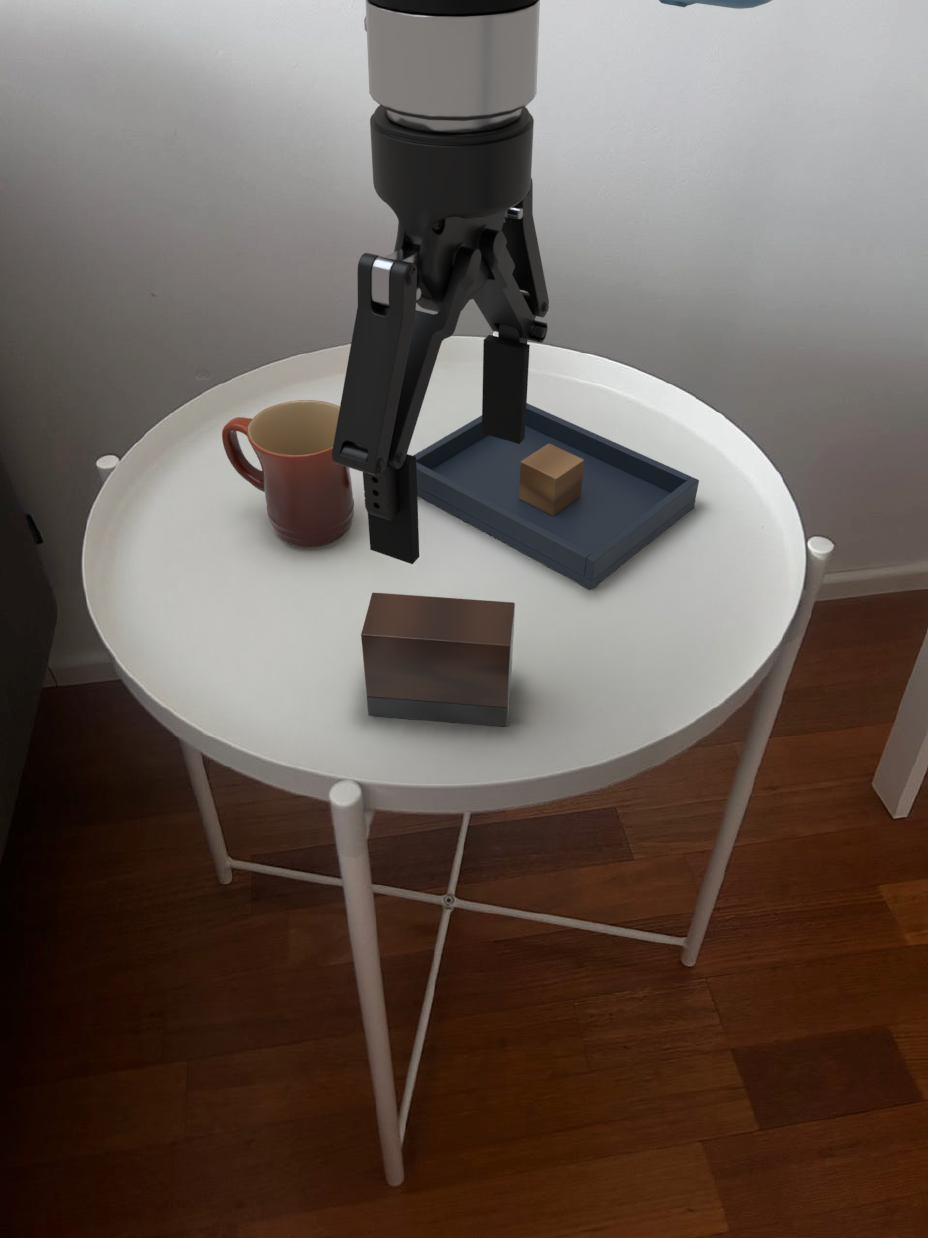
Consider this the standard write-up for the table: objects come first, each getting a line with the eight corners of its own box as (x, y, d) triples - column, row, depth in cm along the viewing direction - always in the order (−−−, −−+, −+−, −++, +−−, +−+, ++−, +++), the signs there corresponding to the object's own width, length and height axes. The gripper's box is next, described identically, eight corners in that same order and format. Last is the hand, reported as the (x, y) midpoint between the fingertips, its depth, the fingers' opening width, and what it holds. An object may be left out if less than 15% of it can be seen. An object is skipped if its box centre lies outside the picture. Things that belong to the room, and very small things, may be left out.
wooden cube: (581, 497, 91) (584, 459, 88) (553, 516, 89) (556, 478, 86) (546, 479, 93) (548, 442, 90) (518, 498, 91) (520, 461, 88)
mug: (379, 511, 91) (372, 411, 84) (334, 568, 85) (323, 465, 78) (263, 482, 94) (247, 384, 87) (212, 535, 88) (191, 434, 81)
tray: (694, 507, 91) (699, 479, 89) (590, 590, 83) (594, 561, 81) (511, 422, 102) (513, 396, 100) (403, 488, 94) (402, 461, 92)
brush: (511, 682, 75) (514, 602, 70) (506, 727, 72) (510, 645, 66) (378, 672, 76) (372, 591, 70) (368, 715, 73) (360, 634, 67)
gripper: (499, 35, 55) (490, 382, 70) (213, 176, 39) (278, 591, 53) (628, 52, 53) (591, 409, 67) (379, 211, 36) (401, 637, 51)
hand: (452, 490), depth 60 cm, fingers open, 13 cm apart
